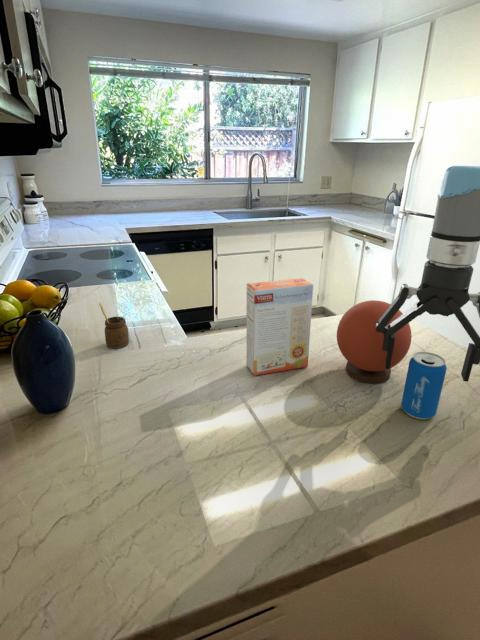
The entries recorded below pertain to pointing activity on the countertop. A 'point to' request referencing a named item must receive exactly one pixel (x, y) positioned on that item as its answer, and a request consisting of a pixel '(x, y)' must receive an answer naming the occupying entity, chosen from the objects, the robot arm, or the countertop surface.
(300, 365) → the cracker box
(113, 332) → the brown jar with stick
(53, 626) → the countertop surface
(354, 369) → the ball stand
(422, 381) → the beverage can
